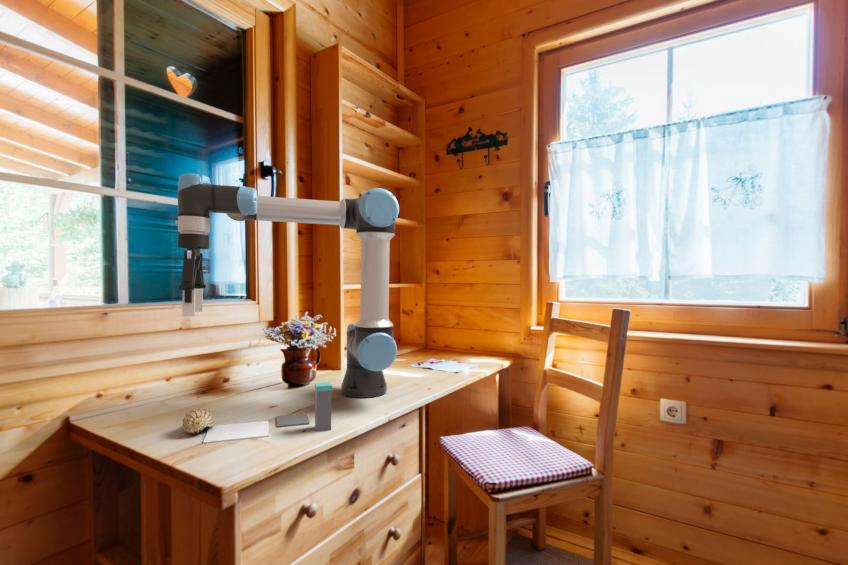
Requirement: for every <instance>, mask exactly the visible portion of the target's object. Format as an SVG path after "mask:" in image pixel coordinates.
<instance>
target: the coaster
mask: <svg viewBox="0 0 848 565" xmlns="http://www.w3.org/2000/svg"><path fill="white" fill-rule="evenodd" d="M275 417H276V428H283V427H285V428H286V427H292V426H293V427H294V426H295V427H297V426H304V425H305V426H306V425H310V420H309V416H308V413H299V414H298V413H297V414H296V413H295V414H285V415H276V416H275Z"/></svg>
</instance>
